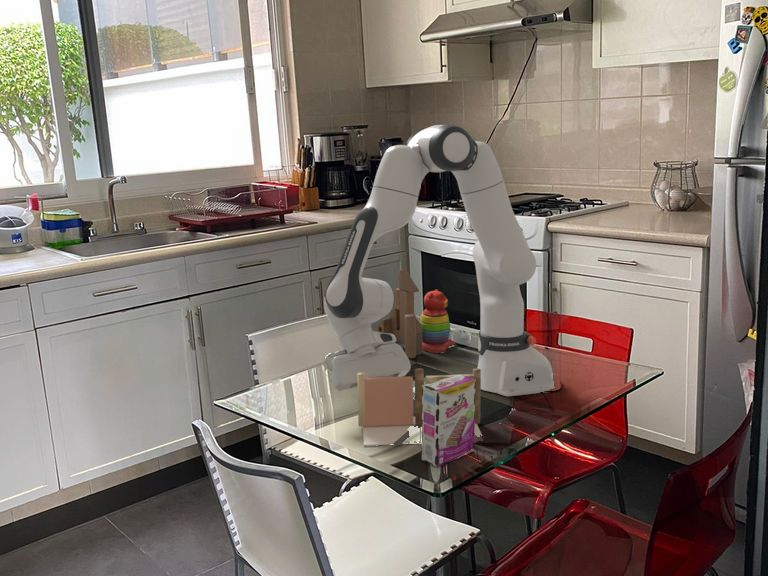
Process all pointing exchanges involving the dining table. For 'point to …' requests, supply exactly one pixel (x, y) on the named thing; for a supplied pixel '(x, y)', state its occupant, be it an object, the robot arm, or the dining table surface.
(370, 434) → the card
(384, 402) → the swing panel
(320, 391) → the dining table surface
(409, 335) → the wooden toy
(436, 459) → the candy bar box
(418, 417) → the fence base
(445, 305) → the stacking bear
